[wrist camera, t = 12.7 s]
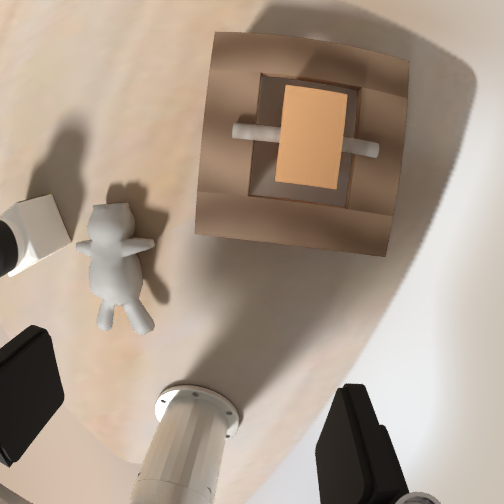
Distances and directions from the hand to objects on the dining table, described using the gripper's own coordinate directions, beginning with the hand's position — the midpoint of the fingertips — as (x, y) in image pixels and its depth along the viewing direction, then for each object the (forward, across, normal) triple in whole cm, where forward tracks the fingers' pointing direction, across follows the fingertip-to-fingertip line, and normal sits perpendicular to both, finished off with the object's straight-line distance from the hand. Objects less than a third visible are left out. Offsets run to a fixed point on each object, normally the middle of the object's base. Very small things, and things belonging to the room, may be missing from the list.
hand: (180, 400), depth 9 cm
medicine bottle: (+26, +27, +2) cm, 38 cm away
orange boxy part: (+24, -4, -10) cm, 27 cm away
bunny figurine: (+27, +14, +6) cm, 31 cm away
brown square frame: (+25, -4, -10) cm, 28 cm away
